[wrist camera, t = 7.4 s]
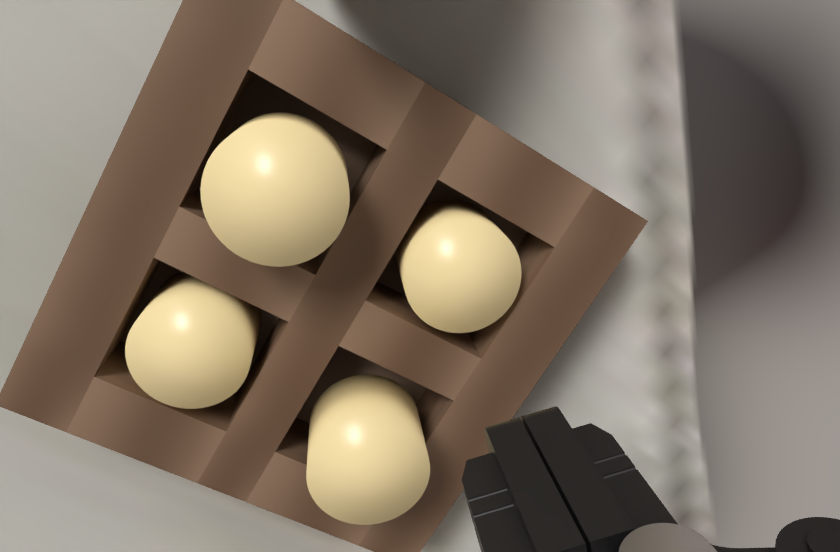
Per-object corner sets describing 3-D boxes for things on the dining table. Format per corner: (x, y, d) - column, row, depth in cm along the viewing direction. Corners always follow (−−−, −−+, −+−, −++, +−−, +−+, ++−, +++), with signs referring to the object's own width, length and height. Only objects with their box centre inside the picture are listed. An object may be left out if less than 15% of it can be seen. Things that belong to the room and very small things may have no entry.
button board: (42, 354, 27) (-6, 404, 23) (228, -37, 23) (207, -54, 19) (401, 503, 31) (410, 565, 27) (605, 197, 27) (648, 221, 24)
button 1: (132, 340, 26) (105, 378, 23) (177, 249, 25) (156, 277, 22) (231, 384, 27) (218, 426, 24) (279, 299, 26) (272, 332, 23)
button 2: (289, 445, 25) (284, 498, 22) (342, 356, 24) (344, 400, 21) (384, 484, 26) (391, 541, 23) (438, 402, 25) (453, 449, 22)
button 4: (376, 272, 26) (382, 301, 23) (430, 180, 25) (444, 198, 22) (464, 318, 27) (480, 351, 24) (519, 232, 26) (544, 255, 23)
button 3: (197, 200, 22) (175, 224, 19) (254, 87, 21) (241, 93, 18) (311, 258, 23) (307, 290, 20) (370, 153, 22) (376, 169, 19)
